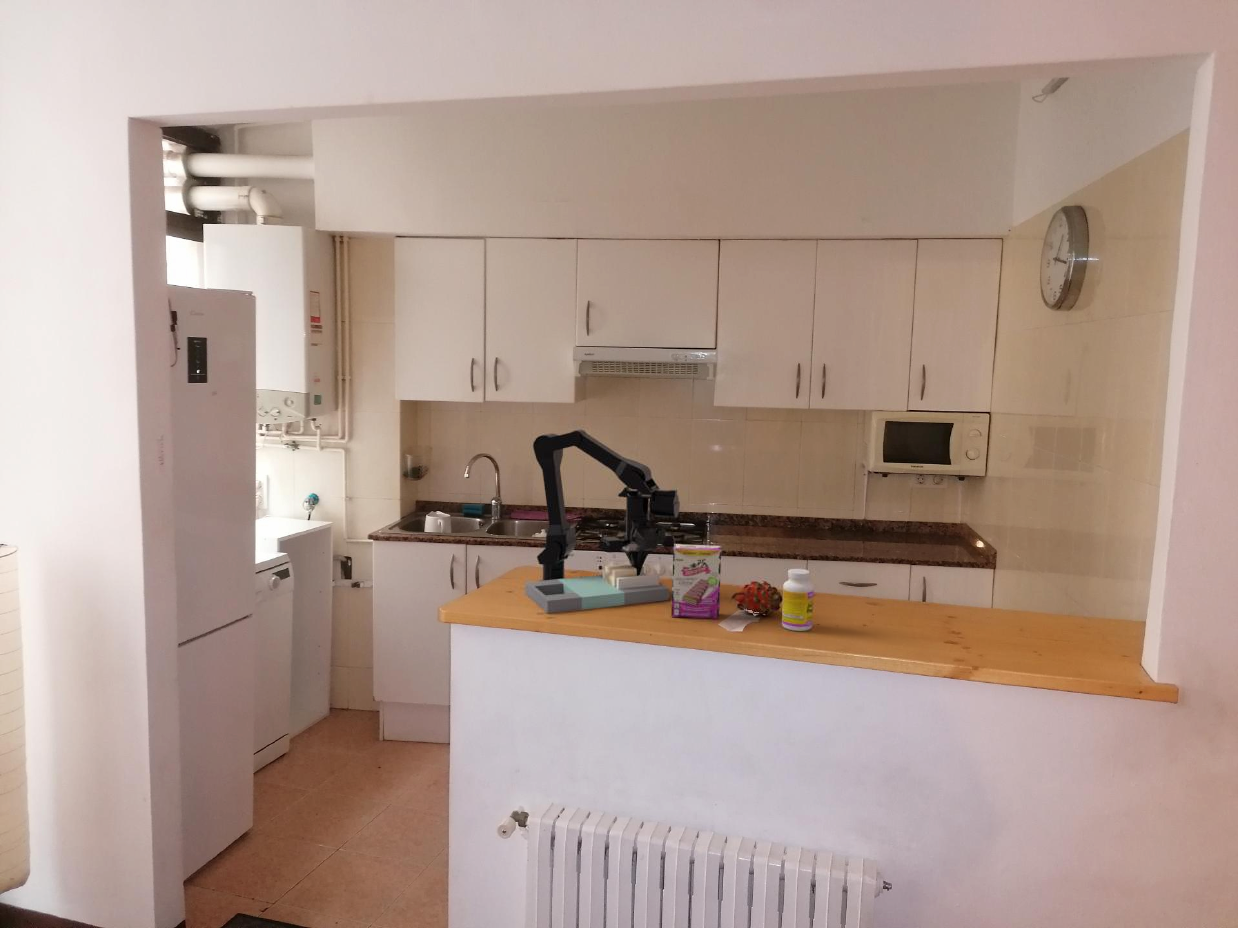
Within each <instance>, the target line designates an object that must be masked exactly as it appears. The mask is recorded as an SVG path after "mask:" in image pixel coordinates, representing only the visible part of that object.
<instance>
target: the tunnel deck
mask: <svg viewBox="0 0 1238 928" xmlns="http://www.w3.org/2000/svg"><path fill="white" fill-rule="evenodd" d="M524 585H525V587H524V590H525V591H524V594H525V595H526V596H527V597H528V598H529V599H530V600H532V601H533V602H534V603H535V604H536V605H537V606H538V607H540V608H541V609H542V610H543V611H544V612H545V613H546V614H554V613H555V614H556V613H562V612H564V613H565V612H571V611H572V612H573V611H574V612H575V611H580V610H591V609H600V608H609V607H618V606H626V605H637V604H645V603H653V602H654V603H655V602H663V601H664V602H665V601H670V588H669V587H668V586H666V585H665V584H662V583H661V582H660V574H658V573H655V574H652V573H651V574H645V567H644V566H643V567H642V570H641V572H640V575H639V576H631V577H620V578H617V587H614V586H612V585H610V584H609V583H607V582H606V581H605V568H603V569H602V574H599V575H589V576H588V575H587V576H576V577H568V578H565V577H564V579H555V580H544V581H539V580H537V581H536V580H534V581H526V582H524Z"/></svg>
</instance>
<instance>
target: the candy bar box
mask: <svg viewBox="0 0 1238 928" xmlns="http://www.w3.org/2000/svg"><path fill="white" fill-rule="evenodd" d="M672 555H673V556H672V574H671V575H672V576H671V577H672V580H671V608H670V609H671V617H672V618H688V619H689V618H691V619H708V620H709V619H711V620H712V619H713V620H719V618H720V601H721V600H720V599H721V596H720V595H721V577H722V576H721V574H722V573H721V572H722V546H721V545H703V544H682V543H675V544H674V547H673V550H672Z"/></svg>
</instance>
